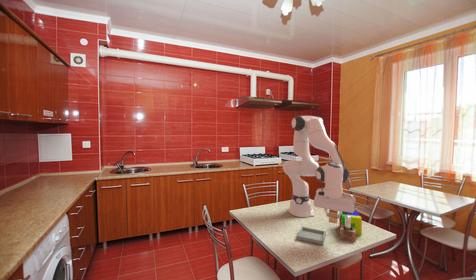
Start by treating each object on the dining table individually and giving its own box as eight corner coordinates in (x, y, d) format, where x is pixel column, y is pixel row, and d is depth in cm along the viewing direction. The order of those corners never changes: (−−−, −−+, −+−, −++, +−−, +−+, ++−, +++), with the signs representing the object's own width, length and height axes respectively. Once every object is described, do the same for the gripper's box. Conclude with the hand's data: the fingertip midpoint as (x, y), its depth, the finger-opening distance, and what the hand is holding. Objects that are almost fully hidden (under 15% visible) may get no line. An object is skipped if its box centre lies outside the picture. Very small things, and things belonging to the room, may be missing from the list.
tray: (302, 230, 127) (302, 226, 127) (325, 235, 121) (325, 231, 121) (297, 239, 115) (297, 235, 115) (322, 245, 109) (323, 241, 109)
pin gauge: (345, 235, 120) (345, 214, 120) (350, 236, 119) (350, 215, 119) (344, 237, 118) (344, 216, 117) (350, 238, 116) (350, 217, 116)
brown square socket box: (340, 232, 124) (340, 224, 123) (355, 235, 120) (355, 227, 120) (340, 238, 117) (340, 229, 117) (355, 241, 113) (355, 232, 113)
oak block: (329, 219, 118) (329, 208, 117) (337, 220, 116) (337, 210, 116) (328, 222, 114) (329, 211, 114) (336, 223, 112) (337, 212, 112)
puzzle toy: (357, 228, 130) (357, 212, 130) (361, 235, 121) (361, 218, 120) (339, 226, 133) (339, 210, 133) (342, 233, 123) (342, 216, 123)
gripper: (355, 193, 112) (354, 218, 113) (315, 188, 122) (314, 211, 123) (355, 197, 107) (354, 223, 107) (313, 191, 116) (313, 215, 117)
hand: (333, 217), depth 115 cm, fingers closed on oak block, 4 cm apart
